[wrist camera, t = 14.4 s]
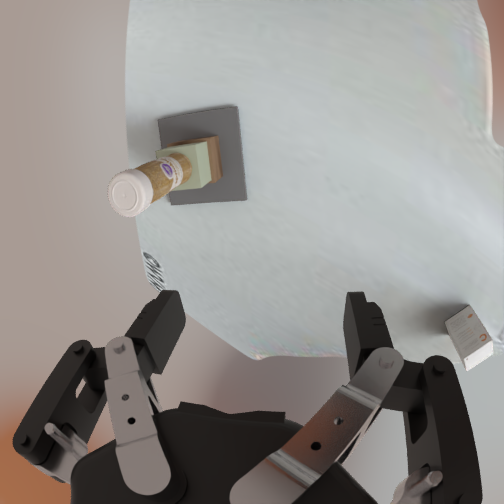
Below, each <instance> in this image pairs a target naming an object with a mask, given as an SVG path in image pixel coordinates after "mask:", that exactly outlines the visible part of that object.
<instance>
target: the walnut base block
mask: <svg viewBox="0 0 504 504" xmlns="http://www.w3.org/2000/svg"><path fill="white" fill-rule="evenodd" d="M206 141H207V148H208V156H209V164H210V171H211V179H212V180H211V181H210V182H208V183H216V182H217V181H218V180H219V179H220V178H221V177H223V171H222V163H221V154H220V146H219V137H218V136H211V137H203V138H196V139H189V140H183V141H177V142H173V143H170V144H167V148H168V147H172V146H178V145H185V144H191V143H198V142H206ZM208 183H207V184H208Z"/></svg>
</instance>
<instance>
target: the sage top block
mask: <svg viewBox="0 0 504 504" xmlns="http://www.w3.org/2000/svg"><path fill="white" fill-rule="evenodd" d="M172 153H180V154H183V155H185V156H186V157H187V158H188V159H189V160H190V163H191V166H192V173H191V176H190V178H189V180H188V181H187V182H185V183H183V184H181V185H179V186H177V187H176V188H175V189H174V190H172V191H176V190H186V189H197V188H202V187H203V186H205V185H206V184H207V183H208V182H210V181H211V180H212V179H211V171H210V164H209V156H208V148H207V141H206V142H198V143H191V144H185V145H178V146H172V147H168V148H164V149H161V150H158V151H156V158H157V159H159V158H162V157H166V156H168V155H170V154H172Z"/></svg>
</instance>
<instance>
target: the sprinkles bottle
mask: <svg viewBox="0 0 504 504" xmlns="http://www.w3.org/2000/svg"><path fill="white" fill-rule="evenodd" d="M191 173H192V166H191V163H190V160H189V159H188V158H187V157H186V156H185V155H183V154H180V153H172V154H170V155H168V156H166V157H162V158H159V159H156V160H153V161H151V162H148V163H146V164H143V165H141V166H139V167H137V168H135V169H128V170H125V171H123V172H120V173H118V174H117V175H115V176H114V177H113V178H112V179H111V181H110V183H109V186H108V199H109V202H110V204H111V206H112V207H113V209H114V210H115V211H116V212H117V213H118V214H120V215H122V216H125V217H133V216H136V215H138V214H139V213H141V212H143V211H144V210H145V209H147V208H148V207H149V205H150V204H151V203H153V202H154V201H157V200H159V199H160V198H162V197H163V196H165V195H166V194H168V193H169V192H171V191H172V190H174V189H175V188H176V187H177V186H179V185H181V184H183V183H185V182H187V181H188V180H189V178H190V176H191Z"/></svg>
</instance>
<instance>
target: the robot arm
mask: <svg viewBox="0 0 504 504" xmlns="http://www.w3.org/2000/svg"><path fill="white" fill-rule="evenodd" d="M185 322H186V318H185V312H184V309H183V305H182V302H181V298H180V295H179V292H178V291H176V290H162V291H161V292H160V294H159V295H158V297H157V298H156V299H153V300H152V301H150V302H149V303H148V304H146V305H145V307H144V308H143V310H142V311H141V313H140V314H139V315H138V317H137V319H136V320H135V321H134V322H133V324H132V325H131V327H130V328H129V330H128V331H127V333H126V334H125V336H122V337H116V338H114V339H112V340H111V341H110V342H109V343H108V344H107V345H106V347H103V348H102V347H101V348H93V347H92V345H91V344H90V342H89V341H87V340H79V341H76V342H74V343H73V344H72V345H71V346H70V347H69V348H68V350H67V351H66V353H65V354H64V355H63V357H62V358H61V360H60V361H59V362H58V364H57V365H56V367H55V368H54V370H53V371H52V373H51V374H50V376H49V377H48V379H47V380H46V382H45V384H44V385H43V387H42V388H41V390H40V391H39V393H38V395H37V396H36V398H35V400H34V401H33V403H32V404H31V406H30V408H29V409H28V411H27V413H26V415H25V416H24V418H23V420H22V422H21V423H20V425H19V427H18V429H17V431H16V432H15V434H14V437H13V447H14V449H15V450H16V452H18V453H19V454H20V455H21V456H23V457H24V458H25V459H27V460H28V461H29V462H30V463H31V464H32V465H33V466H35V467H36V468H38V469H39V470H40V471H42V472H43V473H45V474H46V475H49V476H51V477H52V478H54V479H55V480H57V481H59V482H62V483H65V482H67V483H69V484H70V485H71V504H378V503H377V502H376V501H375V500H374V499H373V498H372V497H371V496H370V495H369V494H368V493H367V492H366V491H365V490H364V489H363V487H362V486H361V485H360V484H359V483H358V482H357V481H356V480H355V479H354V478H353V477H352V476H351V475H350V474H349V473H348V472H347V471H346V470H345V469H344V468H343V467H342V465H343V464H344V462H345V461H346V460H347V458H348V457H349V456H350V455H351V454H352V452H353V451H354V450H355V448H356V447H357V446H358V444H359V442H360V441H361V439H362V438H363V437H364V435H365V434H366V433H367V431H368V430H369V429H370V427H371V426H372V424H373V423H374V421H375V420H376V418H377V417H378V416H379V414H380V412H381V411H382V409H383V408H385V409H390V410H396V411H403V417H404V425H405V434H406V445H407V457H408V474H409V476H408V477H407V478H406V479H404V480H403V481H402V482H401V483H400V484H399V485H398V486H397V487H396V489H395V492H394V496H393V500H392V502H391V504H481V503H482V485H481V478H480V469H479V463H478V456H477V451H476V446H475V441H474V436H473V431H472V427H471V423H470V419H469V415H468V411H467V407H466V404H465V400H464V397H463V394H462V390H461V387H460V384H459V381H458V378H457V374H456V372H455V369H454V366H453V364H452V362H451V361H450V360H449V359H447V358H445V357H443V356H438V355H435V356H431V357H429V358H427V359H426V360H425V362H424V364H423V363H416V362H410V361H407V360H405V359H403V356H402V355H401V354H400V353H399V352H398V351H397V350H395V349H394V347H393V344H392V341H391V338H390V335H389V331H388V328H387V325H386V322H385V319H384V316H383V313H382V310H381V308H380V307H379V306H378V305H377V304H376V303H375V302H367V301H366V298H365V294H364V292H347V296H346V304H345V312H344V321H343V329H344V337H345V343H346V350H347V358H348V364H349V365H348V366H349V373H350V382H349V383H348V384H347V385H346V386H344V385H342V386H341V387H339V388H338V389H337V390H336V392H335V393H334V394H333V395H332V396H331V397H330V399H329V400H328V401H327V402H326V403H325V404H324V405H323V406H322V407H321V409H320V410H319V411H318V412H317V413H316V414H315V415H314V416H313V417H312V418H311V419H310V420H309V421H308V422H307V423H306V424H305V425H304V426H302V425H300V424H298V423H296V422H293V421H291V420H287V419H285V412H271V411H253V412H245V413H237V414H227V413H224V412H221V411H219V410H216V409H213V408H210V407H208V406H205V405H199V404H193V403H187V402H180V405H179V407H178V408H175V409H170V410H165V411H163V410H162V407H161V405H160V402H159V399H158V397H157V394H156V391H155V388H154V386H153V383H152V380H151V378H150V377H151V375H152V373H155V374H162V372H163V370H164V368H165V366H166V364H167V362H168V359H169V357H170V355H171V353H172V351H173V349H174V347H175V345H176V343H177V341H178V339H179V337H180V334H181V333H182V331H183V329H184V326H185ZM82 378H83V379H84V381H85V382H86V384H85V386H84V387H83V389H82V391H81V393H80V394H79V396H78V398H76V394H75V393H76V389H77V387H78V385H79V384H80V382H81V380H82ZM107 400H108V406H109V411H110V416H111V421H112V425H113V430H114V434H115V438H116V439H114V440H112V441H111V442H109V443H107V444H105V445H104V446H102V447H100V448H98V449H96V450H95V451H93V452H91V453H89V454H87V453H88V448H87V443H88V441H89V438H90V436H91V434H92V432H93V430H94V428H95V425H96V423H97V421H98V419H99V417H100V415H101V413H102V410H103V408H104V406H105V404H106V402H107Z"/></svg>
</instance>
